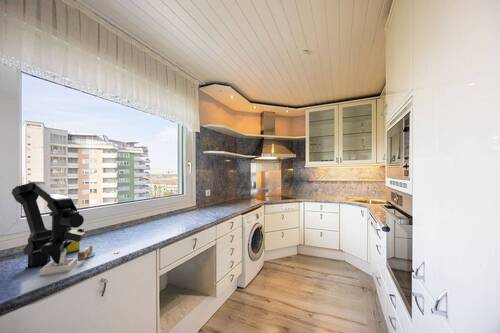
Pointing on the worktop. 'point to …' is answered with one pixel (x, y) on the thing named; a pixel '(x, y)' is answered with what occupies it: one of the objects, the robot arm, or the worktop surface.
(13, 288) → the worktop surface
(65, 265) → the tray
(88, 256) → the crank base
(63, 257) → the stop plug
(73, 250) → the supplement box
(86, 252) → the crank arm
